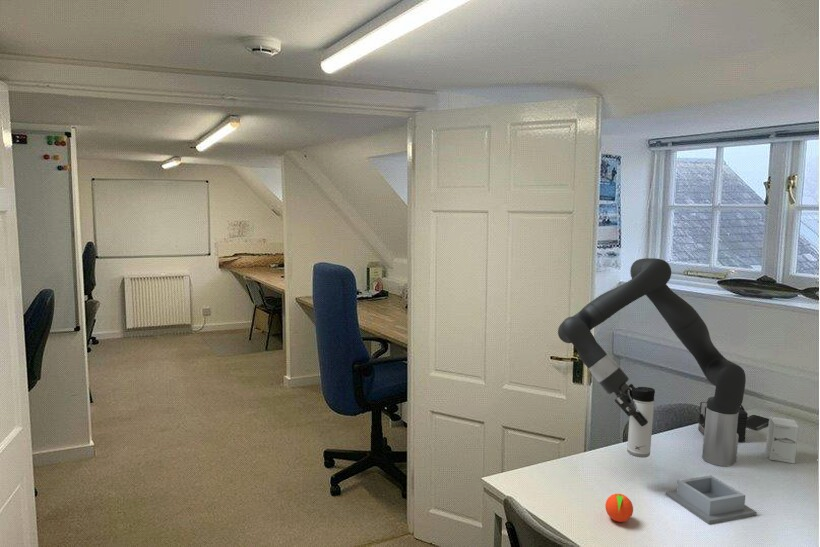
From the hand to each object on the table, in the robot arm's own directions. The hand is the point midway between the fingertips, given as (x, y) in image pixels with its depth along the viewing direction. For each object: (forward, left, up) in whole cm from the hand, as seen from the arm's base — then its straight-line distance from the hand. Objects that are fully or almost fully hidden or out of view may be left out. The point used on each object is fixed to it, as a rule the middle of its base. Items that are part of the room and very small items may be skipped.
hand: (647, 420), depth 171 cm
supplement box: (-59, -5, -21) cm, 63 cm away
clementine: (+18, +13, -21) cm, 30 cm away
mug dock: (-12, +13, -21) cm, 27 cm away
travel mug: (+1, -1, -11) cm, 11 cm away
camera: (-54, -25, -21) cm, 63 cm away
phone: (-77, -31, -21) cm, 86 cm away
